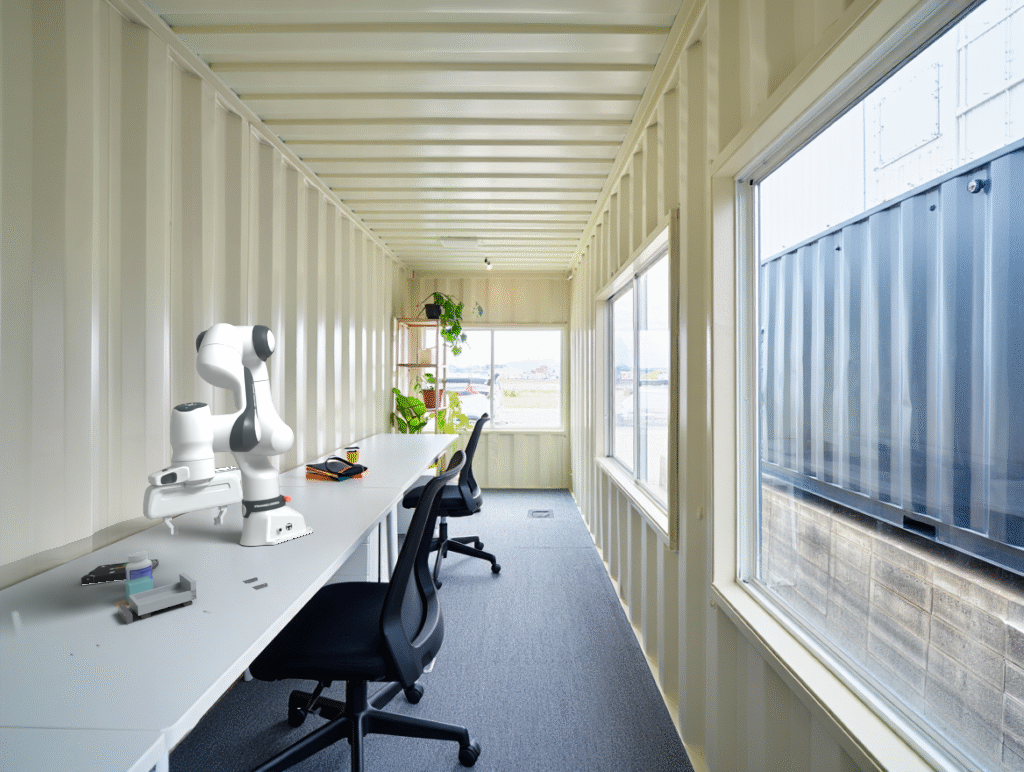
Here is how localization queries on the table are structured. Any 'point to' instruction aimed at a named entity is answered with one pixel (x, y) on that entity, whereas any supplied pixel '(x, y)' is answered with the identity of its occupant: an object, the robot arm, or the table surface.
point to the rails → (127, 614)
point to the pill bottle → (138, 566)
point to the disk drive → (110, 572)
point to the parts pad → (122, 603)
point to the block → (138, 586)
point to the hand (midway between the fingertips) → (196, 529)
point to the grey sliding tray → (164, 596)
